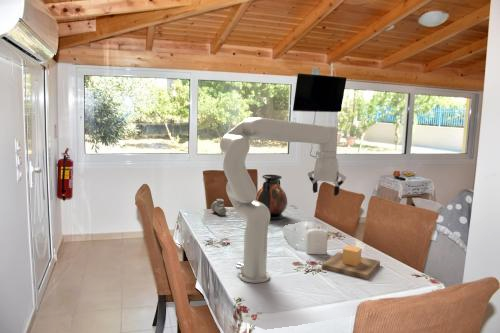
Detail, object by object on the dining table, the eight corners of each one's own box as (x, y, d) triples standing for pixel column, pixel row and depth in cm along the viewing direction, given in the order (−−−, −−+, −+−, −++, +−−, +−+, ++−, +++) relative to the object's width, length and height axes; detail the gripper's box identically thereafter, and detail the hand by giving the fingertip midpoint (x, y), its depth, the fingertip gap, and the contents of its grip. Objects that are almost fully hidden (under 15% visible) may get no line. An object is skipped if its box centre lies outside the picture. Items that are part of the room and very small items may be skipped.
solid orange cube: (342, 263, 177) (343, 249, 176) (347, 259, 182) (347, 245, 181) (356, 266, 173) (357, 252, 172) (360, 262, 179) (361, 248, 178)
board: (321, 268, 175) (322, 253, 174) (338, 256, 192) (338, 242, 191) (367, 279, 164) (368, 263, 163) (379, 265, 181) (380, 250, 180)
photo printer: (306, 254, 192) (307, 230, 191) (305, 251, 197) (306, 227, 195) (327, 255, 192) (329, 230, 191) (326, 252, 196) (327, 228, 195)
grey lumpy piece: (209, 211, 271) (211, 197, 269) (220, 211, 275) (222, 197, 273) (216, 217, 261) (218, 203, 259) (227, 217, 264) (229, 203, 263)
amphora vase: (266, 212, 277) (267, 172, 273) (292, 217, 264) (294, 175, 261) (247, 217, 260) (249, 175, 256) (275, 223, 247) (277, 179, 244)
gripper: (305, 153, 172) (303, 192, 174) (343, 157, 163) (341, 197, 165) (312, 152, 179) (310, 190, 181) (349, 155, 169) (347, 195, 171)
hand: (325, 193), depth 173 cm, fingers open, 9 cm apart
